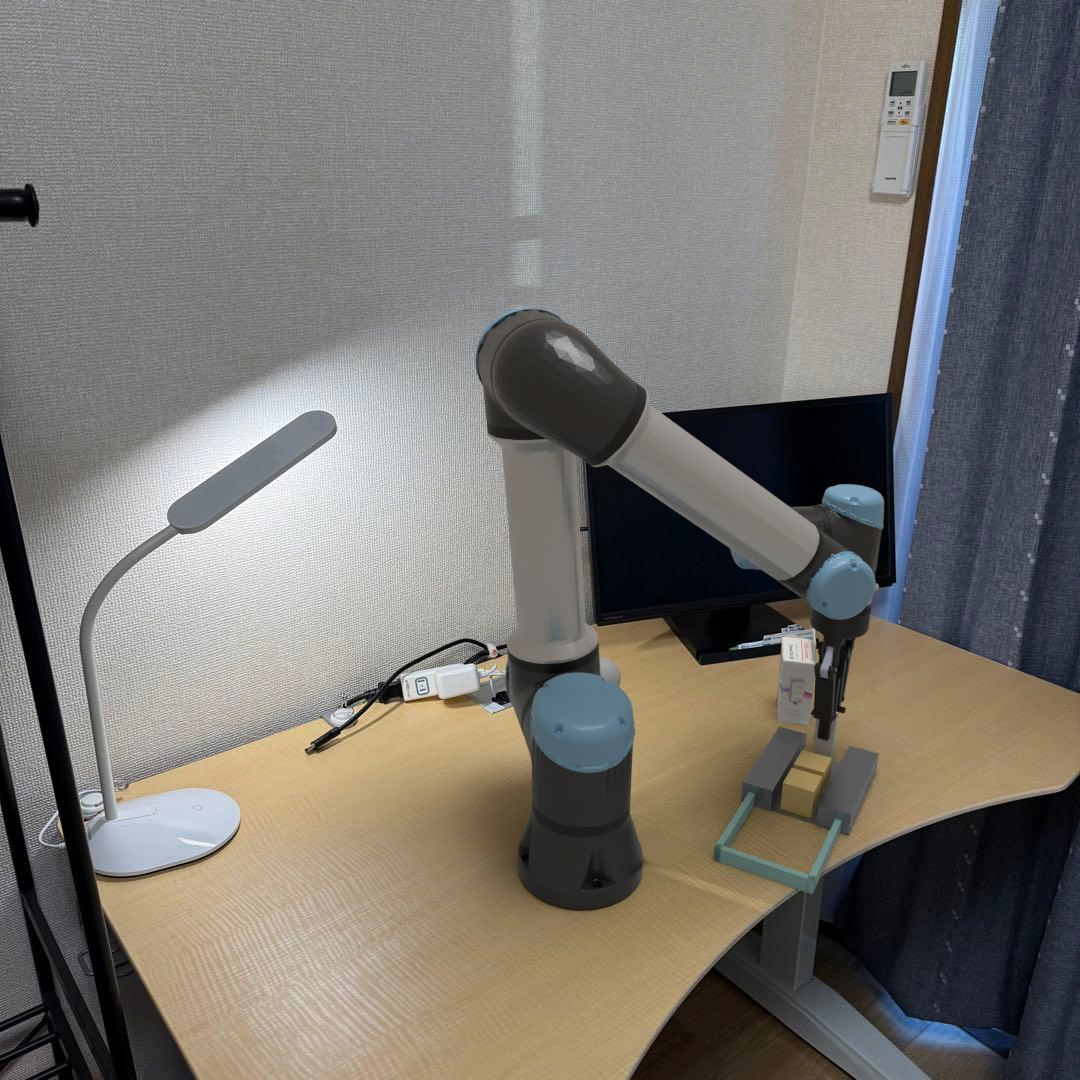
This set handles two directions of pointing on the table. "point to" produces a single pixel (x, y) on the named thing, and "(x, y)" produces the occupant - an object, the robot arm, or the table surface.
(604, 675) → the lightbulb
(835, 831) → the teal u-shaped bar frame
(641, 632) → the table surface
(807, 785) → the tan wooden cube
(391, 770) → the table surface
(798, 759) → the beige wooden block
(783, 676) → the ink cartridge box
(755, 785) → the slot board
